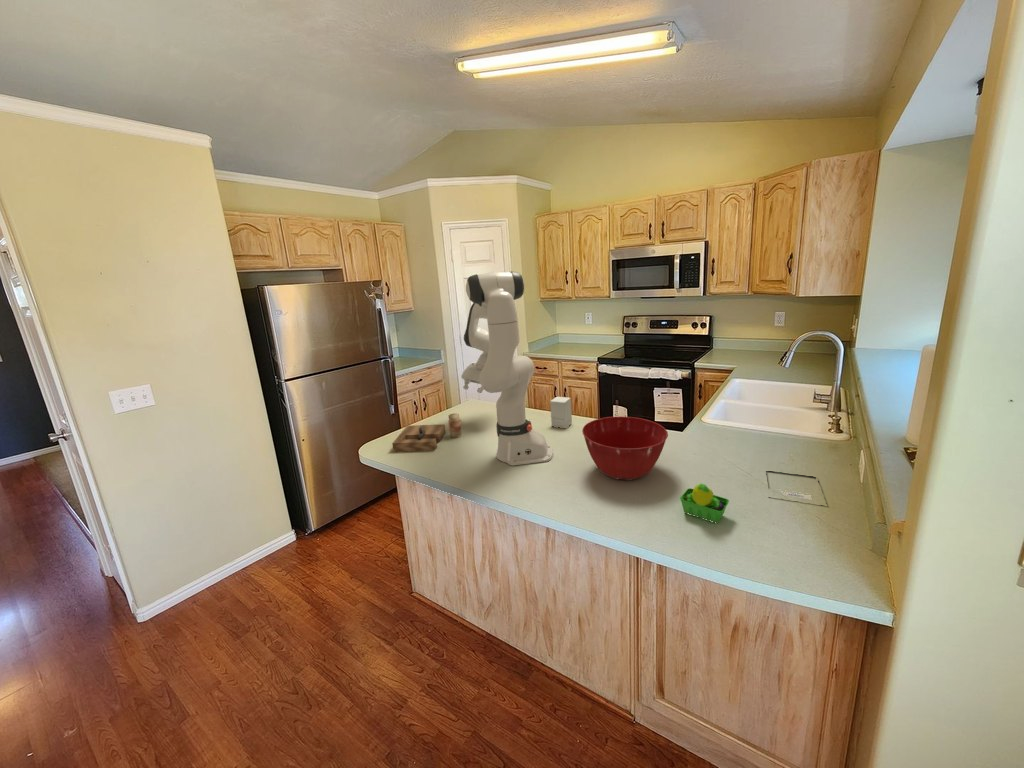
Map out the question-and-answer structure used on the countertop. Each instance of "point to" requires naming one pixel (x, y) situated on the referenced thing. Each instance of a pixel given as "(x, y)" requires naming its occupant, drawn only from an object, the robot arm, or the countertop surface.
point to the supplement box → (561, 412)
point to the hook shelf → (419, 444)
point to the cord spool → (454, 425)
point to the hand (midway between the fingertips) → (471, 390)
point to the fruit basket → (703, 503)
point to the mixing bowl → (624, 445)
